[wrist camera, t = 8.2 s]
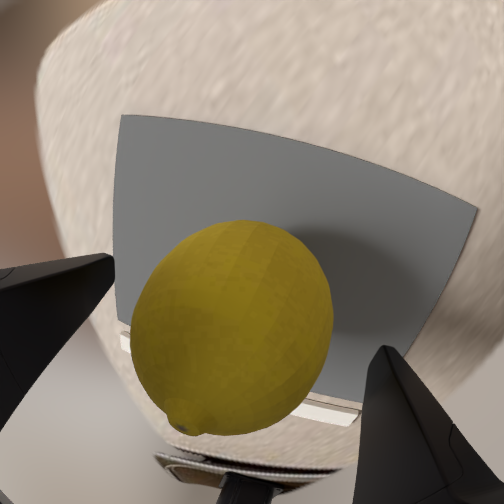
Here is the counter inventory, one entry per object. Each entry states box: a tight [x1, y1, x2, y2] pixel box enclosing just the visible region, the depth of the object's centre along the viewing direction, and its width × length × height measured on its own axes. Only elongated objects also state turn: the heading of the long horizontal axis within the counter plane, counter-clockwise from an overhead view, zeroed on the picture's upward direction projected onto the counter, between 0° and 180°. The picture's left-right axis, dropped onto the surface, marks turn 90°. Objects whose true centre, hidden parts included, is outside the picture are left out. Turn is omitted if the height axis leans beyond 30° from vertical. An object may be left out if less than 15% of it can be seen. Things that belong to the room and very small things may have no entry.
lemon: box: [130, 220, 334, 436], centre depth 8 cm, size 6×6×8 cm
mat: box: [113, 115, 477, 403], centre depth 12 cm, size 12×16×1 cm
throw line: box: [120, 331, 358, 427], centre depth 16 cm, size 2×16×1 cm, turn 79°
